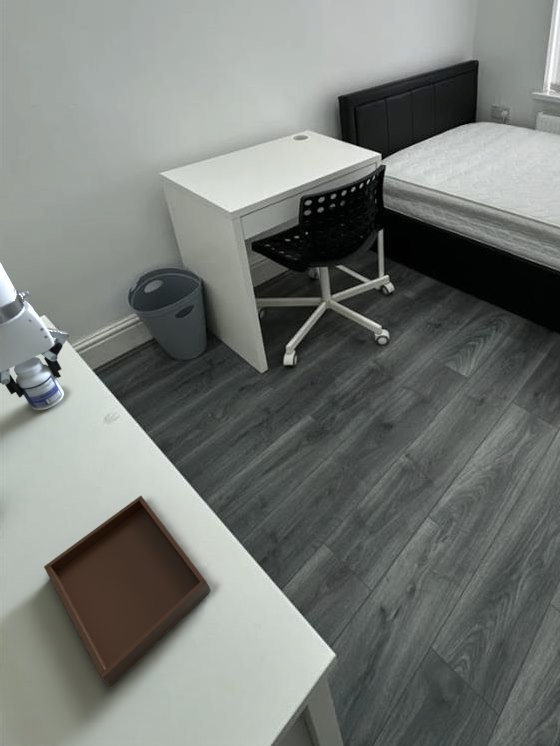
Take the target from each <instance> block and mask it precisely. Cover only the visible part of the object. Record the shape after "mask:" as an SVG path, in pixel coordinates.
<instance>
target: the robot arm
mask: <svg viewBox="0 0 560 746" xmlns="http://www.w3.org/2000/svg"><path fill="white" fill-rule="evenodd" d="M28 298H31V294H30V292H29V291H28V290H27V289H25V290H23V291H22V290H21V291H19V290H16V288H15V287H14V285H13V283H12V280H11V279H10V277H9V275H8V274H7V272H6V270H5V269H4V266H3V264H2V263H1V262H0V384H1V385H2V386H3V385H4V386H5V387H6V389H7V391H8V392H9V393H10V395H13V394H15V393H16V395H17V397H18V398H22V397H23V396H24V395H23V393H22V392H21V390H20V388H19V387H18V385H17V384H16V380H15V379H14V377H13V376H12V375H11V373H10V369H12V368H14V367H15V366H16V365H18V364H20V363H23V362H25V361H27V360H29V359H31V358H33V357H37V356H39V355H41V356H43V359H44V361H45V363H46V365H47V366H49V367H50V368H51V370H52V372H53V374H54V375H55V377H56V379H59V378H61V377H62V375H61V373H60V372H59V371H61V370H62V367H61V365H60V363H59V361H58V359H59V356H58V355H59V354H60V352H61V350H62V349H63V345H64V344H65V343H66V342H67V340H68V339H69V337H70V334H69V333H68V332H67V331H66V330H60V329H57V328H53V327H52V328H51V327H47V325H46V324H45V323H44V321H43V319H42V318H41V317H40V315H39V314H38V312H37V311H36V310H35V308H34V307H33V306H32V305H31V304H30V303H29V302H28V301H27V299H28Z"/></svg>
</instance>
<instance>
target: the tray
mask: <svg viewBox="0 0 560 746" xmlns="http://www.w3.org/2000/svg"><path fill="white" fill-rule="evenodd" d="M43 569H44V570H45V572H46V575H47V576H48V577H49V579H50V581H51V584H52V585H53V587H54V590H55V591H56V593H57V595H58V597H59V599H60V601H61V603H62V604H63V607H64V609H65V611H66V613H67V614H68V616H69V618H70V620H71V621H72V624H73V626H74V628H75V630H76V631H77V633H78V635H79V637H80V639H81V641H82V643H83V646H84V647H85V649H86V650H87V653H88V655H89V657H90V658H91V661H92V662H93V664H94V666H95V668H96V670H97V672H98V674H99V675H100V677H101V679H102V680H103V681H104V682H105V683H106V684H107V685H108V686H109V687H112V685H113V684H115V683H116V682H117V681H118V680H119V679H120V678H121V677H122V676H123V675H125V674H126V672H127V671H128V670H130V668H132V667H133V666H134V665H135V664H136V663H137V662H138V661H139V660H140V659H141V658H142V657H143V656H144V655H146V653H147V652H148V651H149V650H150V649H151V648H153V646H155V644H156V643H158V642H159V641H160V640H161V639H162V638H163V637H164V636H165V635H166V634H167V633H169V631H170V630H171V629H173V627H175V625H176V624H178V623H179V622H180V621H181V620H182V619H183V618H184V617H185V616H186V615H187V614H188V613H189V612H190V611H191V610H193V608H195V606H197V605H198V603H200V601H202V600H203V599H204V598H205V597H206V596H207V595H208V594H209V593H210V592H211V591H212V589H211V588H210V586H209V583H208V581H207V580H206V579H205V577H204V576H203V574H202V573H201V572H200V570H198V569H199V568H197V567H196V565H195V564H194V563H193V561H192V560H191V559H190V557H189V556H188V555H187V553H186V552H185V550H184V549H183V548H182V547H181V546H180V544H179V543H178V542H177V541H176V539H175V538H174V537H173V535H172V534H171V532H170V531H169V530H168V528H167V527H166V526H165V525H164V523H163V522H162V521H161V520H160V518H159V516H158V515H157V514H156V513H155V511H154V510H153V509H152V508H151V506H150V505H149V504H148V502H147V500H145V498H144V497H143V496H142V495H139V496H137V498H135V499H134V500H132V501H131V502H130V503H128V504H127V505H125V506H124V507H122V508H121V509H120V510H119V511H117V512H116V513H115V514H113V515H112V516H111V517H109V518H108V519H106V520H105V521H104V522H102V523H101V524H99V525H98V526H97V527H96V528H94V529H93V530H92V531H90V532H89V533H87V534H86V535H84V536H83V537H82V538H80V539H79V540H78V541H77V542H75V543H74V544H72V545H71V546H70V547H68V548H67V549H66V550H63V552H61V553H60V554H59V555H57V556H56V557H55V558H53V559H52V560H51V561H49V562H48V563H46V564H45V565H44V566H43Z"/></svg>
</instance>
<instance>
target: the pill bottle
mask: <svg viewBox="0 0 560 746" xmlns="http://www.w3.org/2000/svg"><path fill="white" fill-rule="evenodd" d="M13 372H14V373H15V375H16V378H15V382H16V384H17V385H18V387H19V388H20V390H21V392H22V393H23V395H22V396H23V397H24V399H25V400H26V401H27V403H28V404H29V406H30V407H31V408H32V409H33V410H35V411H45V410H47V409H50V408H52V407H54V406H56V405H57V404H59V403H60V402H61V401H62V399H63V398H64V395H65V392H64V389H63V387H62V385H61V383H60V382H59V381H58V378H56V377H55V375H54V374H53V372H52V370H51V368H50V367H49V366H48V365H47V364H44V363H43V361H42V360H41V359H40V358H39V357H37V356H35V357H33V358H31V359H29V360H27V361H25V362H23V363H20V364H18V365H16V366H14V367H13Z"/></svg>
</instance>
